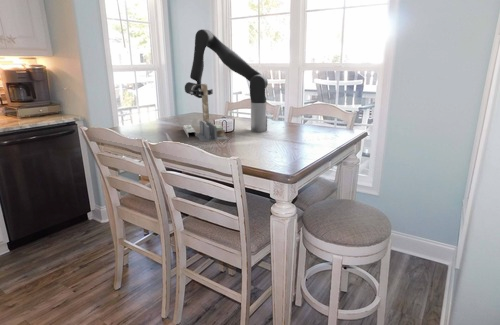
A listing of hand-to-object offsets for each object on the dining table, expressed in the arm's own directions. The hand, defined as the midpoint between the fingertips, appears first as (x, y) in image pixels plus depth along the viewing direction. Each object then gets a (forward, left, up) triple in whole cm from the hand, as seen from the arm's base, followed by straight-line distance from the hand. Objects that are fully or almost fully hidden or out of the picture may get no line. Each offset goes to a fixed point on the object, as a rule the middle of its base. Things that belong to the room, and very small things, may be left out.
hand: (205, 93), depth 176 cm
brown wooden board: (0, -2, -15) cm, 15 cm away
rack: (-2, +3, -24) cm, 25 cm away
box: (+8, -6, -25) cm, 27 cm away
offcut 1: (-6, 0, -20) cm, 21 cm away
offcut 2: (-6, +1, -21) cm, 22 cm away
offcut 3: (-6, 0, -23) cm, 24 cm away
